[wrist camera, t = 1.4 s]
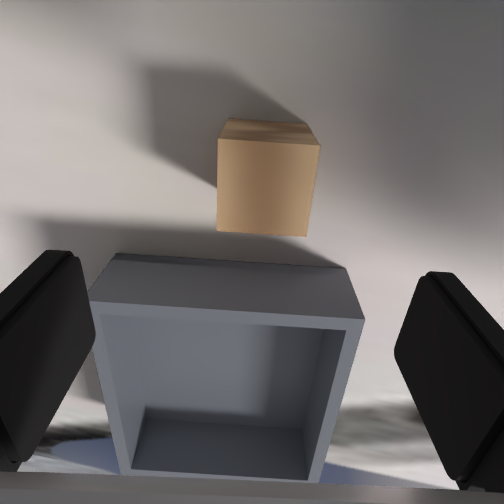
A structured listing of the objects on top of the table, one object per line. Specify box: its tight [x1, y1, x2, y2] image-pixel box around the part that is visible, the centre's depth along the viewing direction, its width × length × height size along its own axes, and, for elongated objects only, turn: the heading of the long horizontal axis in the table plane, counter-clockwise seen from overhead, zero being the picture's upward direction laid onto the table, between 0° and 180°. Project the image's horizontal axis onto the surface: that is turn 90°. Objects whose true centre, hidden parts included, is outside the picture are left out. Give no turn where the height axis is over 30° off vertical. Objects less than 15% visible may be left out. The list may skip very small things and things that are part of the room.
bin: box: [87, 253, 365, 483], centre depth 30 cm, size 18×20×6 cm
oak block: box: [217, 119, 320, 237], centre depth 21 cm, size 5×5×6 cm
